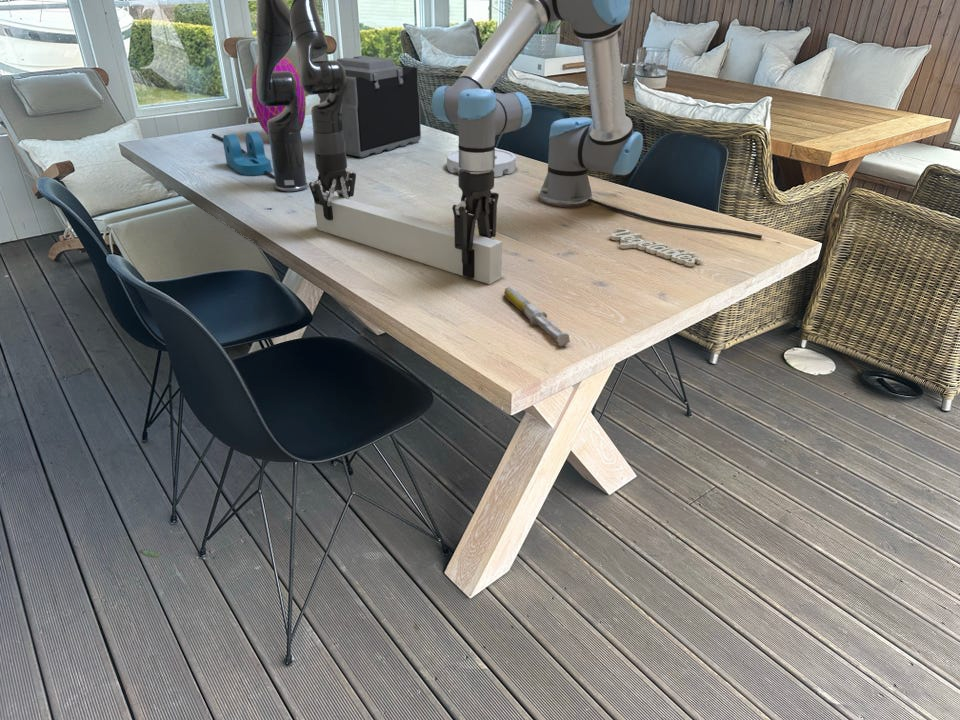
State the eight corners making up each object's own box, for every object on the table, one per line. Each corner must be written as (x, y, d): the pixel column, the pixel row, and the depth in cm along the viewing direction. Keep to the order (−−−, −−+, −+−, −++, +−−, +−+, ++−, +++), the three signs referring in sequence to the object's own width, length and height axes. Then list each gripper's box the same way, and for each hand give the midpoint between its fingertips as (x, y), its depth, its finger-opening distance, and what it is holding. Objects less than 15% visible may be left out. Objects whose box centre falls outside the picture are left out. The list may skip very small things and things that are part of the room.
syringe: (499, 294, 146) (500, 282, 144) (516, 291, 147) (516, 279, 146) (552, 349, 126) (553, 336, 125) (570, 345, 127) (571, 332, 126)
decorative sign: (596, 235, 174) (621, 227, 180) (596, 239, 175) (620, 230, 181) (684, 266, 157) (708, 256, 163) (684, 270, 158) (708, 260, 164)
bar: (501, 278, 154) (502, 241, 149) (489, 284, 151) (490, 247, 146) (330, 225, 183) (326, 193, 178) (317, 229, 180) (313, 197, 175)
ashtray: (449, 158, 243) (449, 147, 241) (514, 159, 242) (515, 148, 240) (444, 176, 223) (444, 164, 221) (515, 178, 222) (516, 165, 220)
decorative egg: (293, 132, 276) (283, 50, 261) (319, 140, 264) (310, 56, 249) (249, 139, 265) (236, 54, 250) (273, 148, 253) (261, 60, 238)
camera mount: (227, 164, 233) (221, 132, 227) (257, 160, 238) (252, 129, 233) (244, 176, 220) (239, 143, 215) (276, 172, 225) (271, 139, 220)
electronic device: (383, 133, 276) (378, 52, 261) (425, 141, 265) (422, 56, 250) (314, 150, 251) (304, 61, 235) (358, 160, 240) (350, 67, 224)
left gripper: (341, 141, 174) (347, 207, 183) (296, 152, 165) (305, 221, 173) (362, 146, 171) (367, 213, 179) (317, 157, 161) (325, 227, 169)
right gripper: (487, 158, 151) (485, 257, 163) (435, 175, 139) (437, 281, 151) (515, 163, 147) (511, 265, 159) (464, 181, 135) (464, 290, 147)
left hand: (336, 216), depth 176 cm, fingers closed on bar, 4 cm apart
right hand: (475, 272), depth 155 cm, fingers closed on bar, 4 cm apart
